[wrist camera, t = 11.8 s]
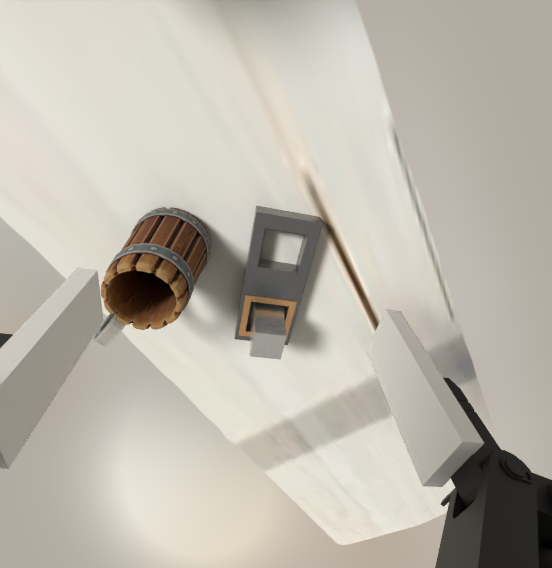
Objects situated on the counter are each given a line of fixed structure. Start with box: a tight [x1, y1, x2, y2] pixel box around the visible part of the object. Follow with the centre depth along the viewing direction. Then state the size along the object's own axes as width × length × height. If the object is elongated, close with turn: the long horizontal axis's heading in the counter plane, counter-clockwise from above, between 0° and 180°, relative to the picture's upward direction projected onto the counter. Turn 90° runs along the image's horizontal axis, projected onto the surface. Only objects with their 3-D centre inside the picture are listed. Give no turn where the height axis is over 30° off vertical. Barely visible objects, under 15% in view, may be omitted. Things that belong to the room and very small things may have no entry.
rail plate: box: [235, 206, 322, 345], centre depth 48 cm, size 22×9×3 cm, turn 169°
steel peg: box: [250, 302, 287, 359], centre depth 48 cm, size 4×4×9 cm
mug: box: [93, 208, 210, 346], centre depth 39 cm, size 16×11×15 cm
